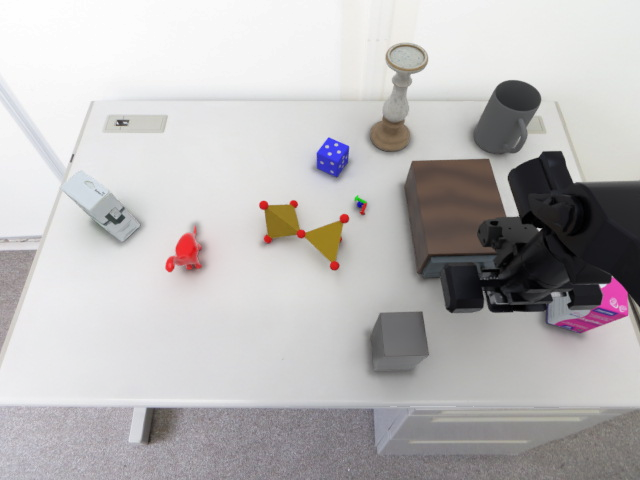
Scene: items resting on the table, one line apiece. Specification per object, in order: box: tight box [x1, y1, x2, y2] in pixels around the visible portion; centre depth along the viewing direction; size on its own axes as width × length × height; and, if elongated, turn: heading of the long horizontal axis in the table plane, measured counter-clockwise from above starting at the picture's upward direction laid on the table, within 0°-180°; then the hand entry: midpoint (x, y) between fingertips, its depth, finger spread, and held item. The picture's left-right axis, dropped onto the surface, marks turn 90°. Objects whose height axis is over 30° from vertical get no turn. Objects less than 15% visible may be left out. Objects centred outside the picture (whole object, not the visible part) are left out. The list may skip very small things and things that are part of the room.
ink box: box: [58, 169, 141, 243], centre depth 69 cm, size 9×5×12 cm, turn 54°
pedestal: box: [370, 311, 430, 372], centre depth 57 cm, size 6×6×12 cm
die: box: [316, 137, 350, 178], centre depth 79 cm, size 5×5×5 cm
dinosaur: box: [164, 224, 203, 273], centre depth 65 cm, size 4×15×12 cm, turn 8°
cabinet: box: [403, 158, 507, 274], centre depth 70 cm, size 20×15×8 cm
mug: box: [473, 79, 542, 155], centre depth 77 cm, size 14×9×12 cm
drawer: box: [421, 254, 497, 293], centre depth 68 cm, size 23×13×6 cm, turn 1°
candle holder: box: [370, 42, 429, 152], centre depth 75 cm, size 9×9×20 cm
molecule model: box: [258, 194, 368, 272], centre depth 69 cm, size 16×18×12 cm
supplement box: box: [545, 277, 629, 334], centre depth 60 cm, size 6×6×12 cm
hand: (492, 306), depth 55 cm, fingers closed
